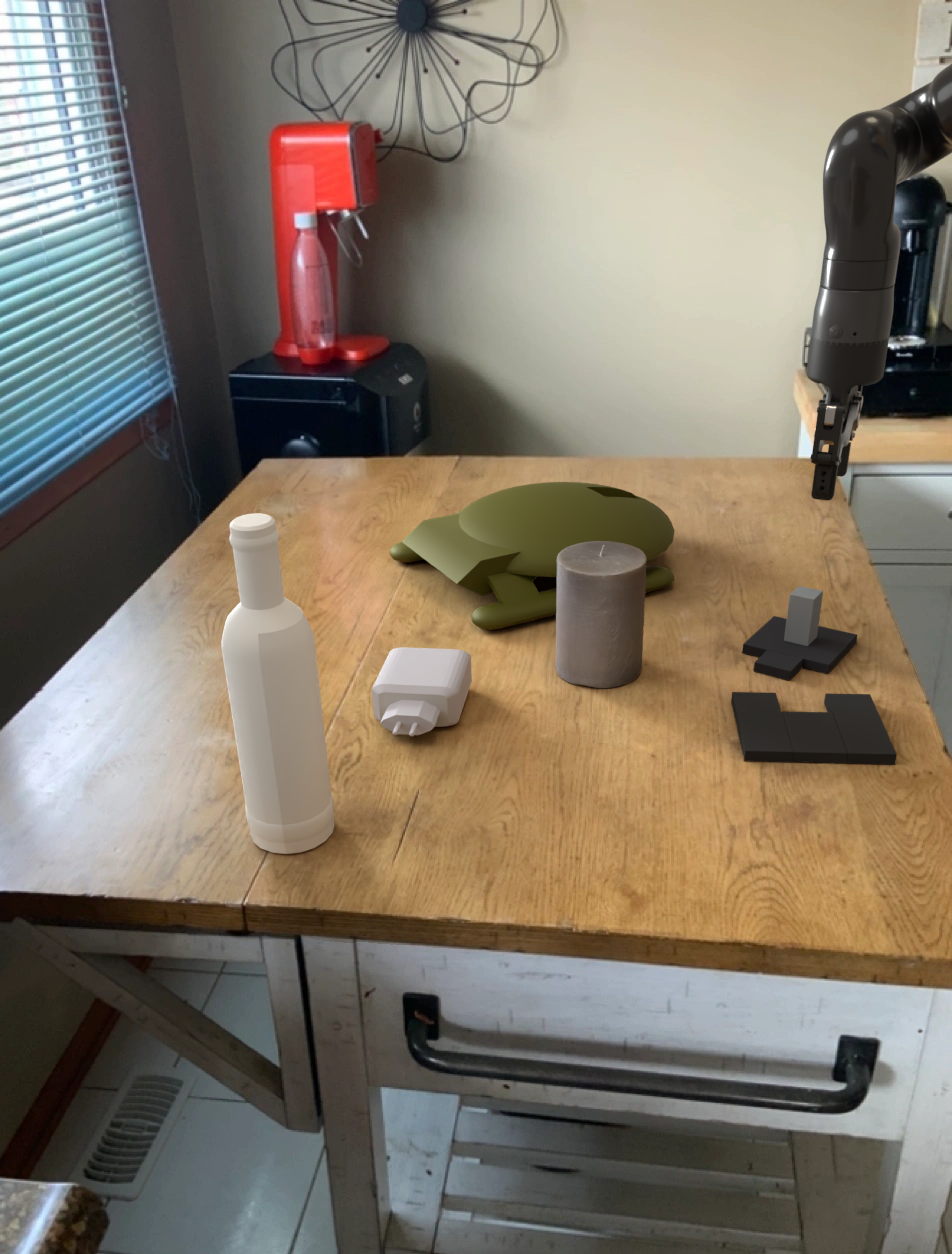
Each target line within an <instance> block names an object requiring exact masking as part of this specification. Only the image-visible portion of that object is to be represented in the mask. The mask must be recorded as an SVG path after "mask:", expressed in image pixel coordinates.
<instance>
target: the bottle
mask: <svg viewBox="0 0 952 1254" xmlns="http://www.w3.org/2000/svg"><path fill="white" fill-rule="evenodd" d="M229 531H230V534H229V537H228V538H229V543H230V547H232V553H233V561H234V566H235V567H234V568H235V574H236V581H237V588H238V589H237V590H238V596H239V602H238V603H237V605H236V606H235V607H234V608H233V609H232V611H231V612H230V613H229V614H228V615H227V617H226V619H225V622H224V627H223V630H222V635H221V642H220V647H221V653H222V659H223V666H224V674H225V679H226V686H227V692H228V698H229V704H230V705H229V706H230V711H231V717H232V725H233V730H234V738H235V745H236V750H237V757H238V763H239V770H240V776H241V782H242V789H243V797H244V802H245V805H244V806H245V807H244V808H245V816H246V821H247V824H248V825H247V826H248V828H249V833H250V837H251V841H252V842H253V844H255V845H256V846H257V847H258V848H260V849H262V850H265V851H267V852H270V853H272V854H282V855H291V854H300V853H303V852H304V853H305V852H306V851H310V850H313V849H315V848H318V847H319V846H320V845H321V844H323V843H325V842H326V841H328V839H329V837H331V835H332V834H333V833H334V828H335V816H334V815H335V805H334V798H333V795H332V788H331V787H332V786H331V779H330V777H331V776H330V770H329V769H330V768H329V760H328V759H329V758H328V751H327V742H326V741H327V740H326V732H325V723H324V715H323V706H322V696H321V695H322V694H321V685H320V677H319V669H318V659H317V650H316V641H315V640H316V639H315V634H314V632H313V629H312V627H311V624H310V623H309V621H308V619H307V617H306V615H305V613H304V611H303V609H302V608H301V607H300V606H299V605H297V604H295V603H294V602H293V601H291V600H290V599H288V598H287V597H285V592H284V584H283V575H282V567H281V565H282V564H281V558H280V551H279V550H280V549H279V540H280V534H279V531H278V529H277V524H276V520H275V518H274V517H273V516H271V515H269V514H267V513H260V512H259V513H257V512H256V513H255V512H254V513H246V514H242V515H240V516H236V517H234V519H233V520H232V521H230V523H229Z"/></svg>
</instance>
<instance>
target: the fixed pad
mask: <svg viewBox="0 0 952 1254" xmlns="http://www.w3.org/2000/svg"><path fill="white" fill-rule="evenodd" d="M730 703H731V706H732V711H733V716H734V720H735V721H734V722H735V725H736V730H737V734H738V739H739V743H740V747H741V751H742V757H743V761H744V762H766V763H770V762H771V763H814V764H815V763H816V764H817V763H819V764H848V765H849V764H851V765H852V764H853V765H855V764H856V765H890V766H892V765H894V766H895V765H896V761H897V756H898V754H897V752H896V749H895V747H894V744H893V743H892V740H891V737H890V735H889V734H888V731H887V729H886V727H885V724H884V722H883V720H882V718H881V716H880V713H879V711H878V709H877V706H876V704H875V702H874V700H873V698H872V695H871V694H870V693H825V694H824V701H823V705H824V707H825V709H826V711H787V710H785V711H782V709H781V704H780V703H779V699H778V696H777V693H776V692H766V691H765V692H760V691H759V692H756V691H732V692H731V699H730Z"/></svg>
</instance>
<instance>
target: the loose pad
mask: <svg viewBox="0 0 952 1254" xmlns="http://www.w3.org/2000/svg"><path fill="white" fill-rule="evenodd" d="M788 596H789V597H788V604H787V613H786V617H780V616H776V615H773V616H772V617H771V618H770V619H769V620H768V621H767V622H766V623H764V624H763V625H762V626H761V627H760V628H759V629H758V630H757V631H756V632H754V633H753V634H752V635H751V636H750V637H749V638H748V639H747V640H746V641H745V642H743V643H742V649H741V652H742V654H744V655H750V656H752V657H757V659H756V660H755V661H754V663H753V672H754V673H758V674H762V675H766V676H769V677H775V678H778V679H782V680H786V681H791V680H792V679H793V678H794V677H795V676H796V675H797V674H798V673H799V672H800V671H801V670H802V669H806V670H809V671H815V672H818V673H822V674H826V675H828V674H830V673H831V672H832V671H833V669H834V668H835V667H836V666H837V665H838V664H839V663H840V662H841V661H842V659H843V658H844V657H845V656H846V655H847V654H848V653H849V652H850V651H851V650H852V649H853V648H854V647H855V646H856V645H857V641H858V636H859V635H858V634H857V633H853V632H847V631H843V630H839V629H835V628H830V627H827V626H821V625H820V617H821V612H822V611H821V610H822V602H823V596H824V590H821V589H816V588H812V587H808V586H807V587H806V586H801V585H799V586H797V587H796V588H795V589H793V591H792V592H790V594H789V595H788Z"/></svg>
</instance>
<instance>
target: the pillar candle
mask: <svg viewBox="0 0 952 1254" xmlns="http://www.w3.org/2000/svg"><path fill="white" fill-rule="evenodd" d="M646 561H647V559H646V555H645V554H644V553H643V551H641V550H640V549H638V548H636V547H633V546H631V545H628V544H624V543H618V542H611V541H591V542H583V543H579V544H575V545H572V546H569V547H567V548H565V549H564V550H562V551H561V552H560V553H559V554H558V557H557V560H556V562H557V577H556V588H557V595H556V598H557V599H556V615H555V663H554V664H555V671H556V673H557V675H558V676H559V677H560V678H561V679H562V680H564V681H565V682H567V683H570V684H572V685H578V686H579V685H580V686H585V687H590V688H595V689H611V688H616V687H620V686H621V687H622V686H625V685H627V684H629V683H631V682H632V681H634V680H636V679H637V677H638V676H639V675H640V674H641V672H642V669H643V653H644V652H643V650H644V649H643V648H644V627H645V606H646V593H645V586H646V566H647V562H648V561H647V562H646Z"/></svg>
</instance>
